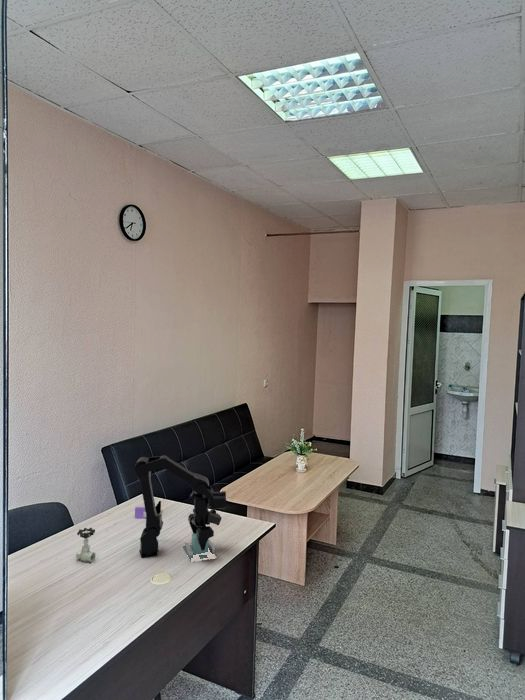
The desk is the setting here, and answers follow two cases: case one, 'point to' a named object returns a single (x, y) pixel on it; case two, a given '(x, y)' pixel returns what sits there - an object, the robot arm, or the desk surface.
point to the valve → (86, 546)
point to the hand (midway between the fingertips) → (199, 545)
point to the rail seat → (190, 554)
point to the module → (197, 545)
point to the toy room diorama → (141, 511)
